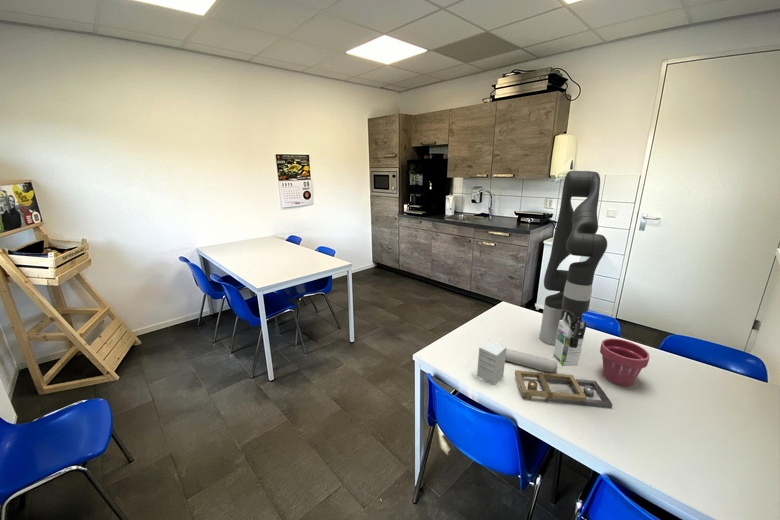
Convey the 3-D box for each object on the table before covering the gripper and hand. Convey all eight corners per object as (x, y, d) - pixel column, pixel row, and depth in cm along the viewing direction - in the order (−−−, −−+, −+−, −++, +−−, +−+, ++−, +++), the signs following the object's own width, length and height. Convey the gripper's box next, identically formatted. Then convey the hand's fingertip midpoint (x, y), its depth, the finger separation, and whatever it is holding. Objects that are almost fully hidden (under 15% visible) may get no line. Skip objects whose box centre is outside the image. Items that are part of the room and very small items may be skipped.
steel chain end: (536, 379, 118) (537, 373, 118) (594, 384, 115) (596, 378, 115) (547, 401, 107) (548, 395, 106) (611, 408, 104) (613, 401, 103)
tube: (558, 359, 124) (492, 343, 135) (559, 362, 119) (490, 345, 130) (556, 372, 124) (490, 355, 135) (556, 376, 119) (488, 358, 130)
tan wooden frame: (514, 377, 119) (515, 370, 119) (571, 382, 117) (572, 375, 116) (522, 399, 108) (523, 391, 107) (585, 405, 105) (587, 398, 104)
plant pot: (644, 377, 119) (652, 347, 115) (639, 397, 109) (647, 364, 105) (599, 362, 128) (605, 334, 125) (591, 378, 118) (597, 348, 115)
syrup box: (552, 356, 111) (558, 319, 107) (568, 356, 111) (575, 318, 107) (561, 366, 105) (568, 327, 101) (578, 366, 106) (586, 326, 102)
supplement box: (486, 367, 125) (488, 339, 121) (503, 376, 120) (507, 347, 116) (475, 376, 120) (478, 346, 116) (494, 385, 115) (497, 355, 111)
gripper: (600, 305, 94) (590, 354, 99) (580, 287, 108) (572, 331, 112) (573, 303, 95) (564, 352, 100) (556, 286, 109) (549, 330, 114)
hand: (568, 341), depth 106 cm, fingers closed on syrup box, 6 cm apart
